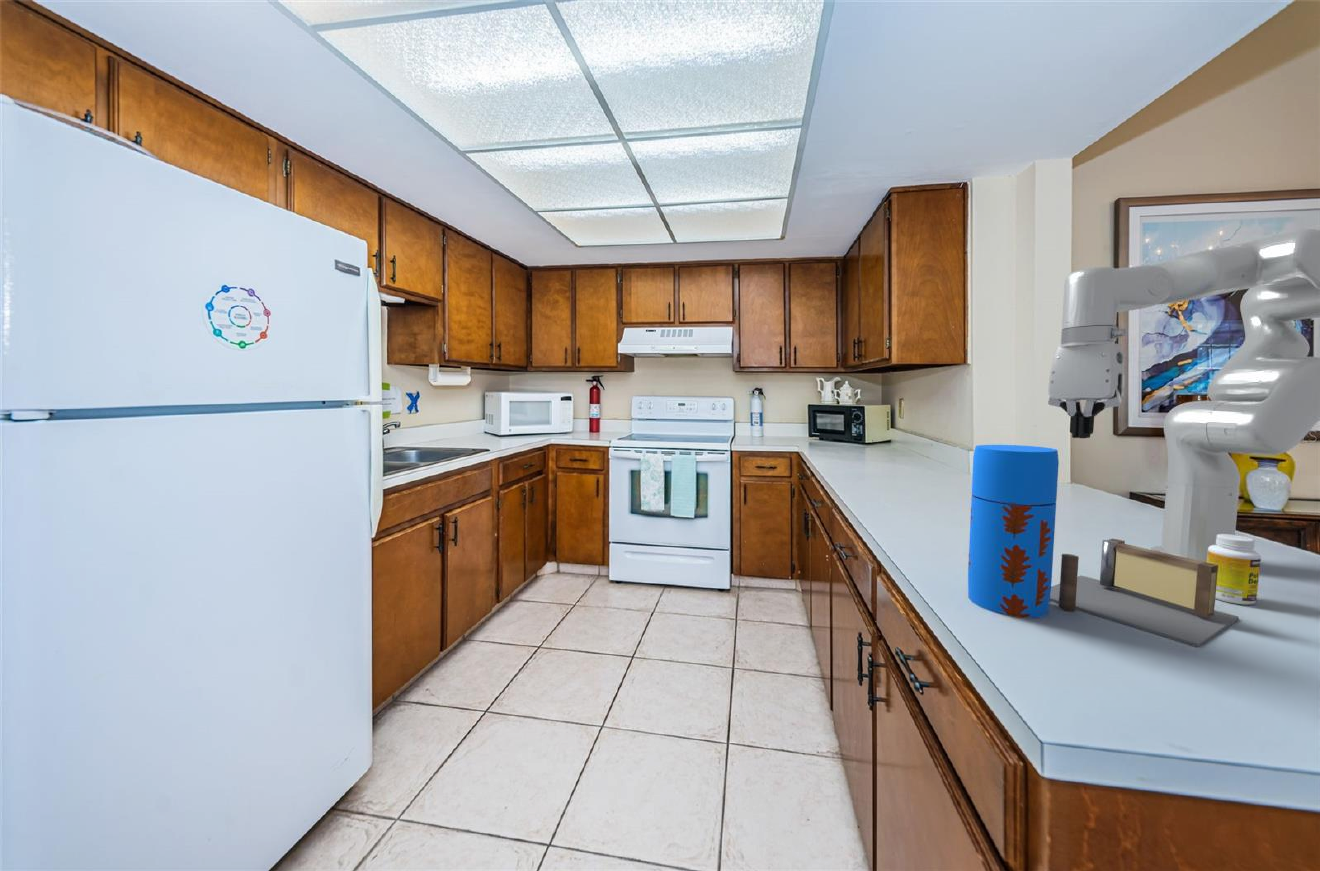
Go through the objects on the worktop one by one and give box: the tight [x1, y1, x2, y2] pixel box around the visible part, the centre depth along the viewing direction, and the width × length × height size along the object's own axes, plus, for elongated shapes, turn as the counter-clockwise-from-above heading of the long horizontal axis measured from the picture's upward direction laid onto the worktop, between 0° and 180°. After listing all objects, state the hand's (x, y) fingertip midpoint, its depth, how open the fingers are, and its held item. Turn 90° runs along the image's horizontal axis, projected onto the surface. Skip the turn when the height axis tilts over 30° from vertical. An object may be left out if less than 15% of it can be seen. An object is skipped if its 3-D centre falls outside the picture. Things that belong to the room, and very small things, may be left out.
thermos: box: [967, 444, 1060, 619], centre depth 78 cm, size 11×11×25 cm
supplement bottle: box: [1207, 534, 1262, 605], centre depth 79 cm, size 6×6×10 cm
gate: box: [1099, 539, 1218, 617], centre depth 77 cm, size 14×2×8 cm, turn 20°
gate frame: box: [1049, 538, 1239, 648], centre depth 76 cm, size 18×19×8 cm
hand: (1081, 437), depth 92 cm, fingers closed
